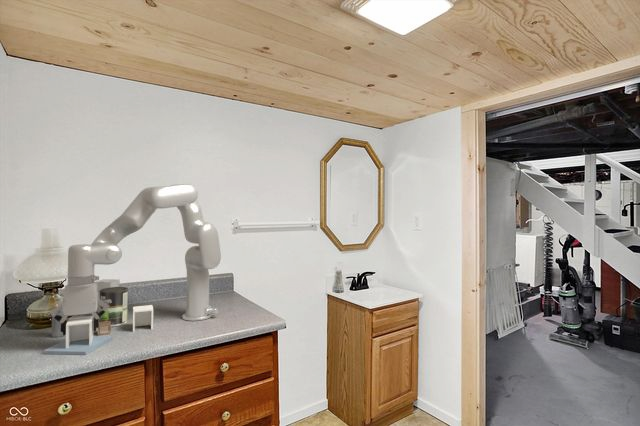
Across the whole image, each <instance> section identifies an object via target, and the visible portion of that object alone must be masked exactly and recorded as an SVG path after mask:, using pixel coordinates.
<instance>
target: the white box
mask: <svg viewBox="0 0 640 426" xmlns="http://www.w3.org/2000/svg"><path fill="white" fill-rule="evenodd" d="M94 318H95V317H94V316H93V315H86V316H77V317H76V316H74V317H69V318H68V319H67V324H66V335H65V340H66V348H68V347H69V345H70V342H71V341H77V340H85V339H89V345H91V344H92V340H93V336H94V331H93V321H94Z"/></svg>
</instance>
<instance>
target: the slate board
mask: <svg viewBox="0 0 640 426" xmlns="http://www.w3.org/2000/svg"><path fill="white" fill-rule="evenodd" d="M113 337H114V336H109V335H101V336H98V335H97V336H96V335H93V340H92V344H91V345H89V339H85V340H77V341H71V342H70V345H69V347H68V348H66V339H65V340H63V341H60V342H59V343H56V344H54V345H52V346H51V347H48V348H46V349H44V350H42V355H69V356H86V355H88V354H90V353H91V352H93V351H95V350H97V349H98V348H100V347H102V346H104V345H105V344H107V343H109V342H111V341H112V340H113Z"/></svg>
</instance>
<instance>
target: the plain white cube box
mask: <svg viewBox="0 0 640 426" xmlns="http://www.w3.org/2000/svg"><path fill="white" fill-rule="evenodd" d="M142 326H143V327H144V326H150V330H154V307H153V304H148V305H137V306H133V307H132V332H133V333H135V331H136V330H135V328H137V327H142Z"/></svg>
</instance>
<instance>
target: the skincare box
mask: <svg viewBox="0 0 640 426" xmlns="http://www.w3.org/2000/svg"><path fill="white" fill-rule="evenodd" d="M94 283H97V287H98V299H99V300H100V292H99V291H100V290H101V289H105V288H111V287H121V286H120V279H115V278H114V279H109V278H108V279H105V278H103V279H99V280H96V281H94ZM99 307H100V305H98V309H97V312H98V313H99Z"/></svg>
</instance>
